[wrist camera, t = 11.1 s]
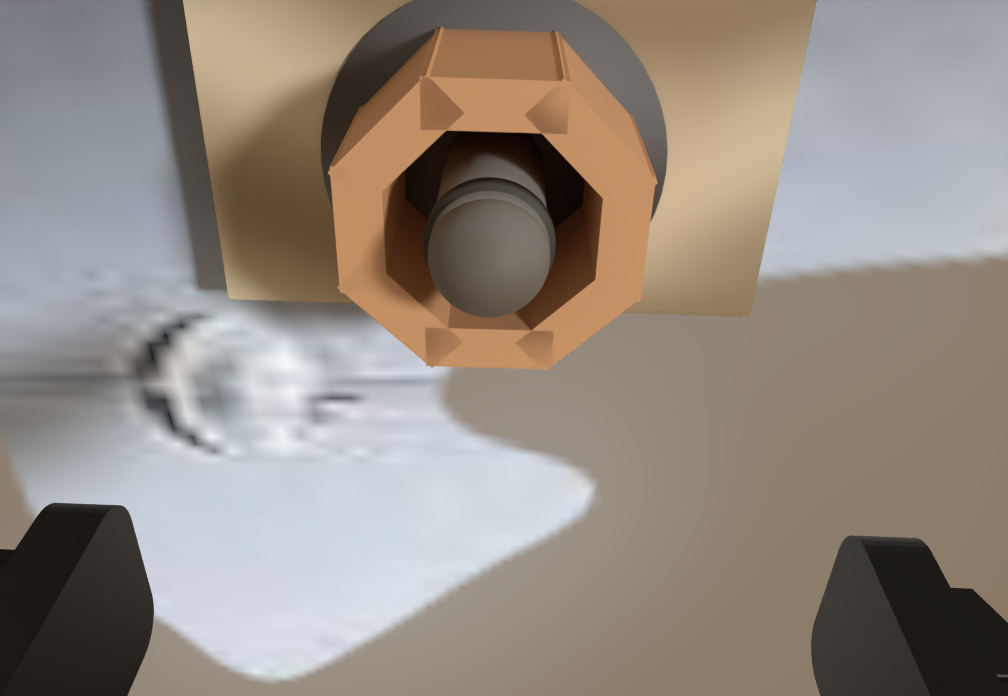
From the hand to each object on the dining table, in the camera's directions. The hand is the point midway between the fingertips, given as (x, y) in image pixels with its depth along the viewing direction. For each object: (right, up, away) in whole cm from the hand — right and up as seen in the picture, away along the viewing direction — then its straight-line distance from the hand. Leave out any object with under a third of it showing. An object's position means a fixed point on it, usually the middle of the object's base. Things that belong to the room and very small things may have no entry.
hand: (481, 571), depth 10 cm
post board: (0, +12, +10) cm, 15 cm away
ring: (0, +7, +11) cm, 13 cm away
